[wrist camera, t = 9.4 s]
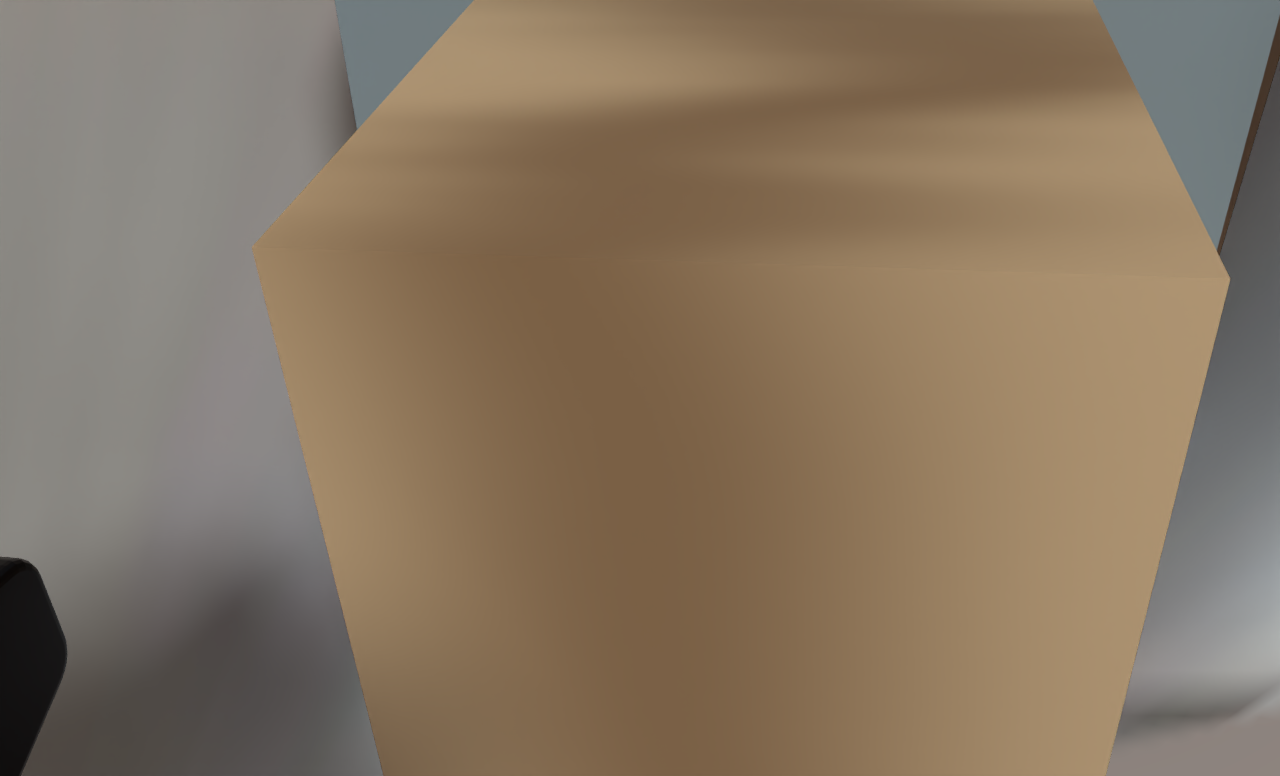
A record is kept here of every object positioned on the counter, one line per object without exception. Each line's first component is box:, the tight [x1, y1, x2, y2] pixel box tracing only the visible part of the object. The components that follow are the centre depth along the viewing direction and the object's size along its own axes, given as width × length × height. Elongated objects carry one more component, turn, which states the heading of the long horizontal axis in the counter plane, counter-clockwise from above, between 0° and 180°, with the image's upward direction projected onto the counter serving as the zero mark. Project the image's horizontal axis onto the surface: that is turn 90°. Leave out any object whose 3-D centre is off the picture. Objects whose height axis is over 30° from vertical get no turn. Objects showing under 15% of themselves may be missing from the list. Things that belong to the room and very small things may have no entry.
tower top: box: [335, 0, 1280, 251], centre depth 13 cm, size 8×8×3 cm
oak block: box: [252, 0, 1230, 776], centre depth 10 cm, size 5×5×5 cm
